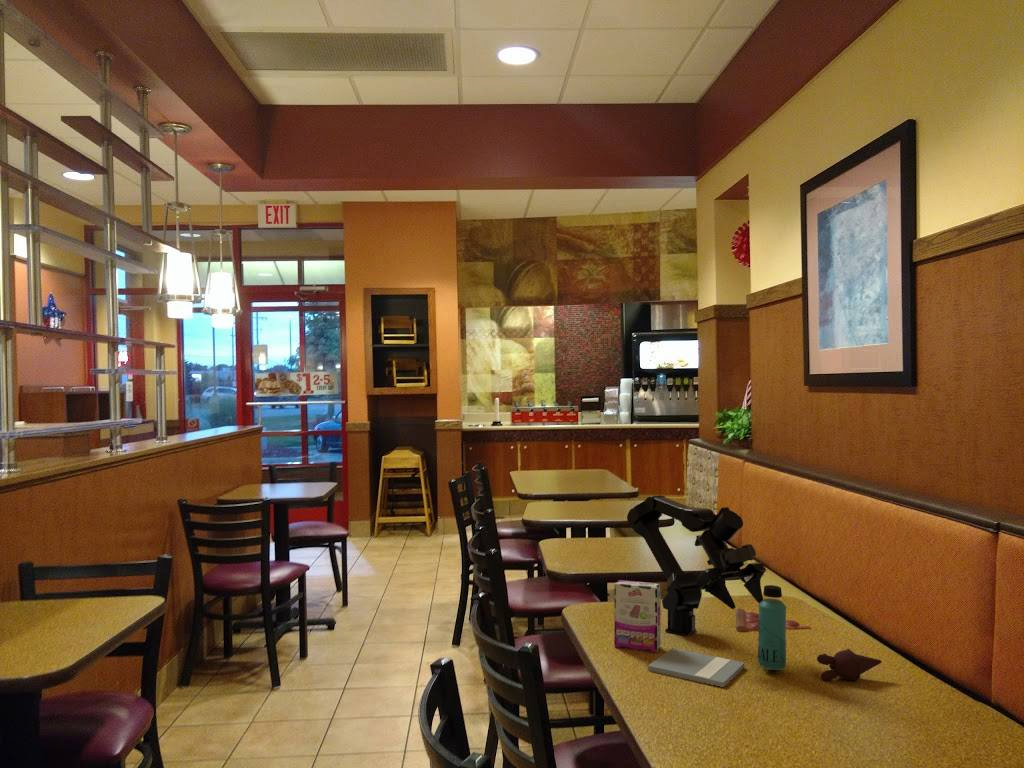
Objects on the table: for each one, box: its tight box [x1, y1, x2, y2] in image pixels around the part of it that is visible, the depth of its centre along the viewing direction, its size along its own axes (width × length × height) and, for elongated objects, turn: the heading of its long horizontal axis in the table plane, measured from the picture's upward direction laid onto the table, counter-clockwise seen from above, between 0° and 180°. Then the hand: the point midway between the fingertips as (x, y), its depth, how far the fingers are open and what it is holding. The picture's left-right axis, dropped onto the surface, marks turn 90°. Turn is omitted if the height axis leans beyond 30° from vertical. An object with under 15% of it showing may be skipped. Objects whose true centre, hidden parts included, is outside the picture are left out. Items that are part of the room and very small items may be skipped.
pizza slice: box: [735, 607, 812, 632], centre depth 217 cm, size 18×2×20 cm
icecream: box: [816, 648, 883, 682], centre depth 177 cm, size 7×7×15 cm
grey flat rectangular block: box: [647, 647, 745, 688], centre depth 182 cm, size 18×15×1 cm
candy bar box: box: [613, 579, 662, 653], centre depth 197 cm, size 11×5×16 cm, turn 68°
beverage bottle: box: [757, 584, 787, 671], centre depth 181 cm, size 6×7×20 cm
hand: (748, 606), depth 188 cm, fingers open, 9 cm apart
